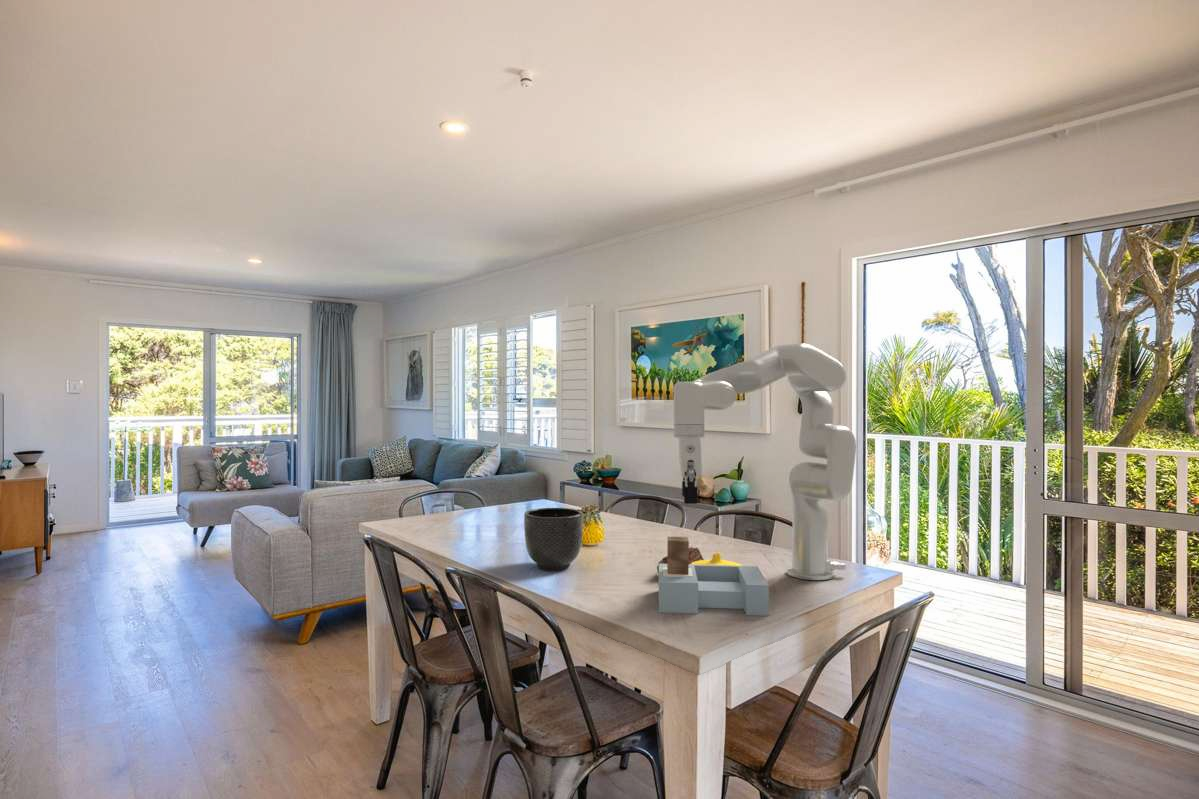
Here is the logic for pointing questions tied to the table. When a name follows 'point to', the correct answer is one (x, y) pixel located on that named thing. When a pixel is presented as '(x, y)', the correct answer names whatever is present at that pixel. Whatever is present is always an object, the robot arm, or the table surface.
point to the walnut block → (678, 555)
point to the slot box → (714, 589)
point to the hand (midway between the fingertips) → (689, 499)
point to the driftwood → (693, 556)
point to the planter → (553, 536)
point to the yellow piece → (715, 561)
